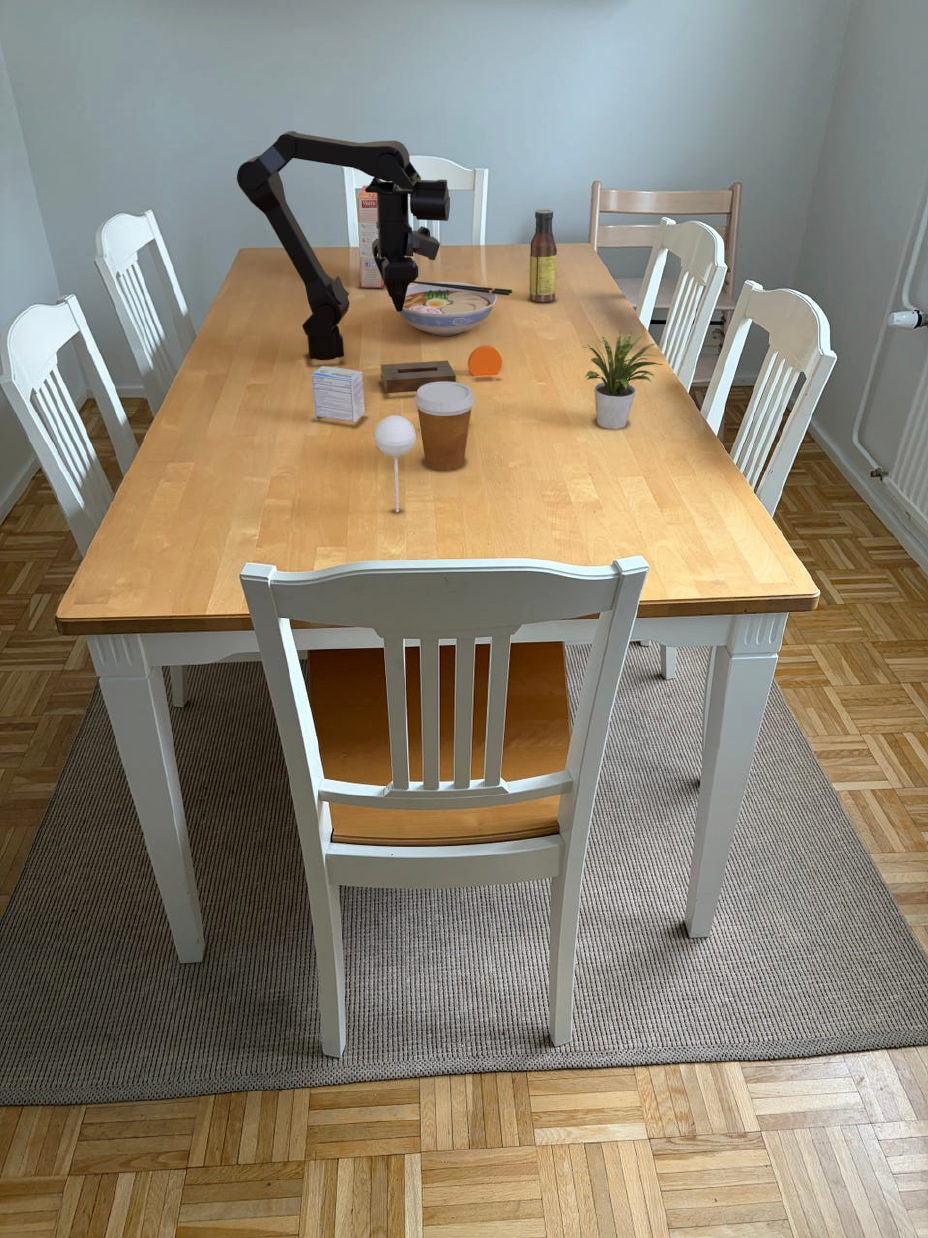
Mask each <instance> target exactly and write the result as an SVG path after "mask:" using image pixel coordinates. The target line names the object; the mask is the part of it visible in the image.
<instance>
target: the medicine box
mask: <svg viewBox="0 0 928 1238" xmlns="http://www.w3.org/2000/svg"><path fill="white" fill-rule="evenodd" d="M310 378H311V388H312V390H311V391H312V398H313V409H314V420H315V421H319V419H318V417H319V418H320V417H321V418H326V419H332V420H339V421H346V422H352V423H356V422H357V421H358V420H360V419H361V417H363V416H364V415H365V413H366V411H365V397H364V396H365V395H364V382H363V380H364V379H363V371H361V370H355V369H348V368H342V367H335V366H325V365H322V366H320V367H319V368H317V369H316V370H314V371H313V372H312V373H311V375H310Z"/></svg>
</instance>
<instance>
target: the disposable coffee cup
mask: <svg viewBox="0 0 928 1238" xmlns="http://www.w3.org/2000/svg"><path fill="white" fill-rule="evenodd" d="M413 401H414V405H415V406H416V409H417V415H418V421H419V422H418V423H419V428H420V436H421V442H422V448H423V455H424V463H425V465H426V466H427V467H429V468H431V469H435V470H439V471H450V470H456V469H458V468H460V467H461V466H463V465H464V463H465V462H464V461H465V455H466V450H467V449H466V447H467V441H468V434H469V426H470V421H471V415H472V408H473V407H474V404H475V401H476V398H475V396H474V395H473V391H472V389H471V388H470V387H469V386H468V385H465V384H463V383H459V382H457V381H456V382H446V381H444V382H432V383H428V384H425V385H423V386H421V387H420V388H419V389H418V390H417V391H416V395H415V396H414V398H413Z"/></svg>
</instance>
